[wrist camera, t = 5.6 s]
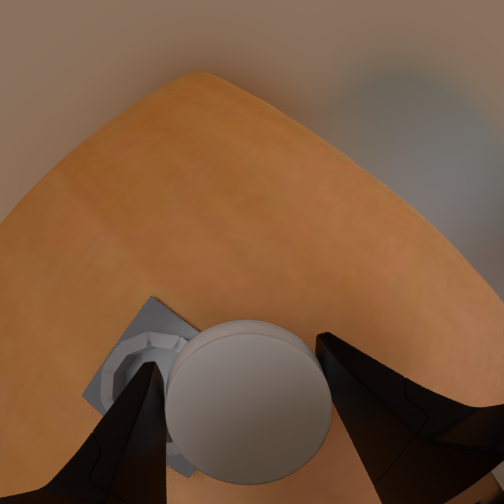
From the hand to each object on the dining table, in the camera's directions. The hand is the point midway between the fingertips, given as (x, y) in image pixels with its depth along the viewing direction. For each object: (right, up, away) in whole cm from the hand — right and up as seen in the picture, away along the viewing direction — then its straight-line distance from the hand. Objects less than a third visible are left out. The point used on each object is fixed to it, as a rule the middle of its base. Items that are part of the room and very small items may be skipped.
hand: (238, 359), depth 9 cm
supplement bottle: (0, -4, +6) cm, 7 cm away
